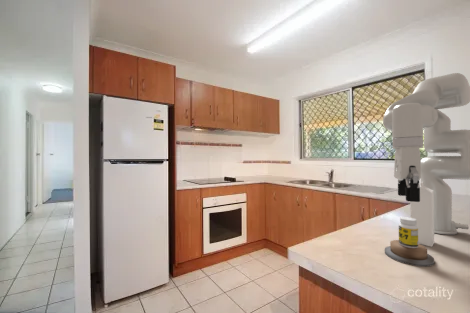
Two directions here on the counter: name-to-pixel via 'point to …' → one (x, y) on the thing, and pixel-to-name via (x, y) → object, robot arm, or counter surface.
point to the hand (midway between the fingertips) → (408, 198)
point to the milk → (424, 216)
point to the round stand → (409, 254)
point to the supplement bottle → (408, 232)
